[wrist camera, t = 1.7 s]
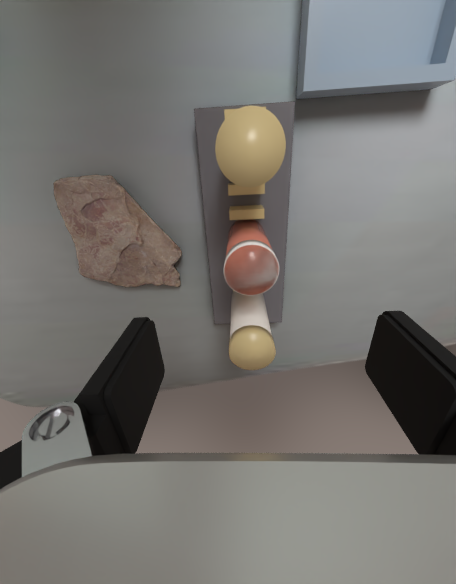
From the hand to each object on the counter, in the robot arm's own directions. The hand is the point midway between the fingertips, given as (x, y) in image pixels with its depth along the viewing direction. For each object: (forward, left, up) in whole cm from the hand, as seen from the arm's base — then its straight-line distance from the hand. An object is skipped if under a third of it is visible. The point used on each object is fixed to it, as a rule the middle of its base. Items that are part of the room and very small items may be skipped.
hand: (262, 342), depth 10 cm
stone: (0, -13, -18) cm, 23 cm away
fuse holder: (0, 0, -18) cm, 18 cm away
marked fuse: (0, 0, -16) cm, 16 cm away
